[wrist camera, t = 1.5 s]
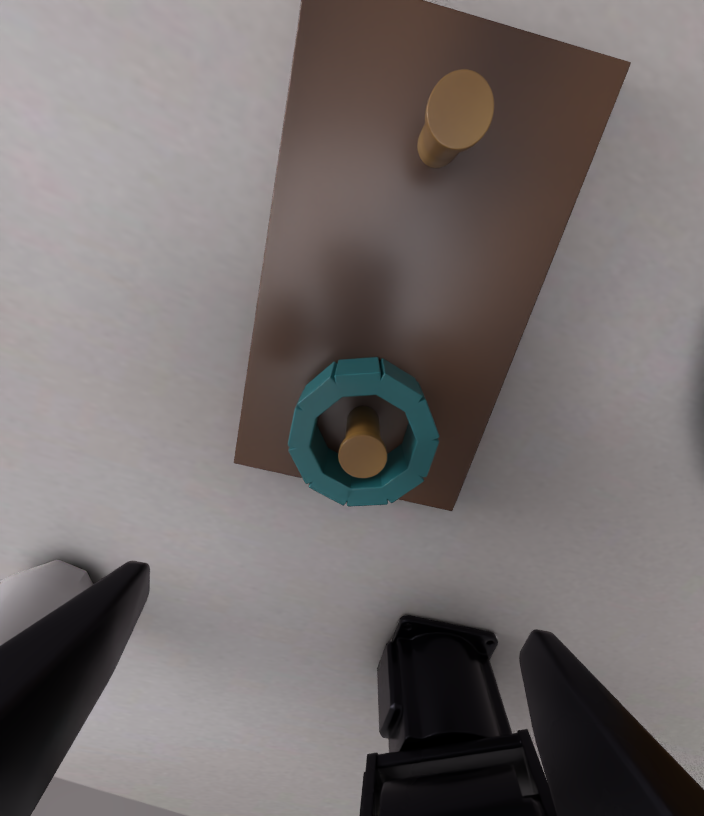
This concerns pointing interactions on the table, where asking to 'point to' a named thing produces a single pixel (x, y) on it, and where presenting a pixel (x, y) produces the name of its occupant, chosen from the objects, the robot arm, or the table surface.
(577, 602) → the table surface
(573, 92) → the peg rack
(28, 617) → the salt shaker
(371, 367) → the ring
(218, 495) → the table surface
